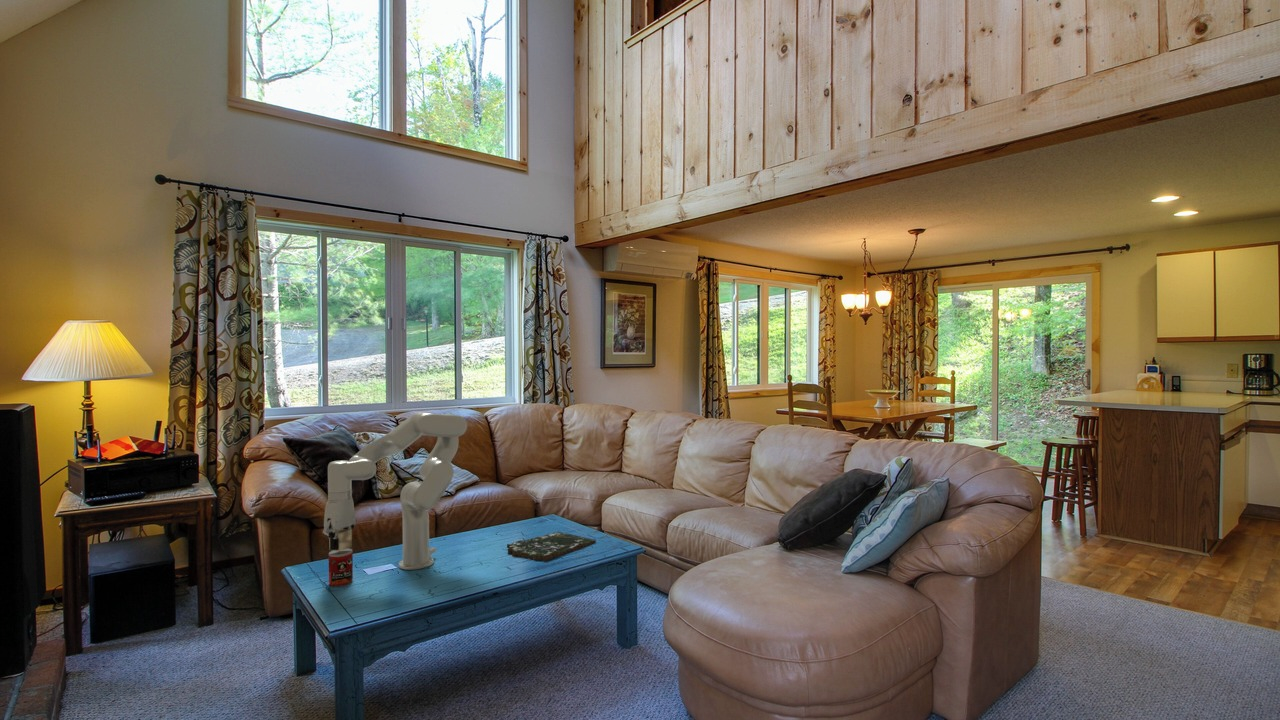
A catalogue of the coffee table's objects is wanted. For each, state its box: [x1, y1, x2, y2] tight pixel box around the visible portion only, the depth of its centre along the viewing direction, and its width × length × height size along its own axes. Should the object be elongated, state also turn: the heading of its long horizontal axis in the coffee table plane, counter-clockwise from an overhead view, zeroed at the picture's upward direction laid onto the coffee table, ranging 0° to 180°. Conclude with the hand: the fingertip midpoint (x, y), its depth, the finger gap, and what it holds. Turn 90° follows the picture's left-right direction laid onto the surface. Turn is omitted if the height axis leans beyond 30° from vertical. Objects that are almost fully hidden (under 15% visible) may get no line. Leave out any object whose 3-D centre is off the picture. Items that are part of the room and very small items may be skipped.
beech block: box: [328, 528, 353, 551], centre depth 214 cm, size 5×5×6 cm
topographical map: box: [506, 531, 597, 563], centre depth 253 cm, size 26×33×3 cm
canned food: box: [328, 548, 354, 587], centre depth 214 cm, size 8×8×11 cm
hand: (340, 546), depth 214 cm, fingers closed on beech block, 5 cm apart
